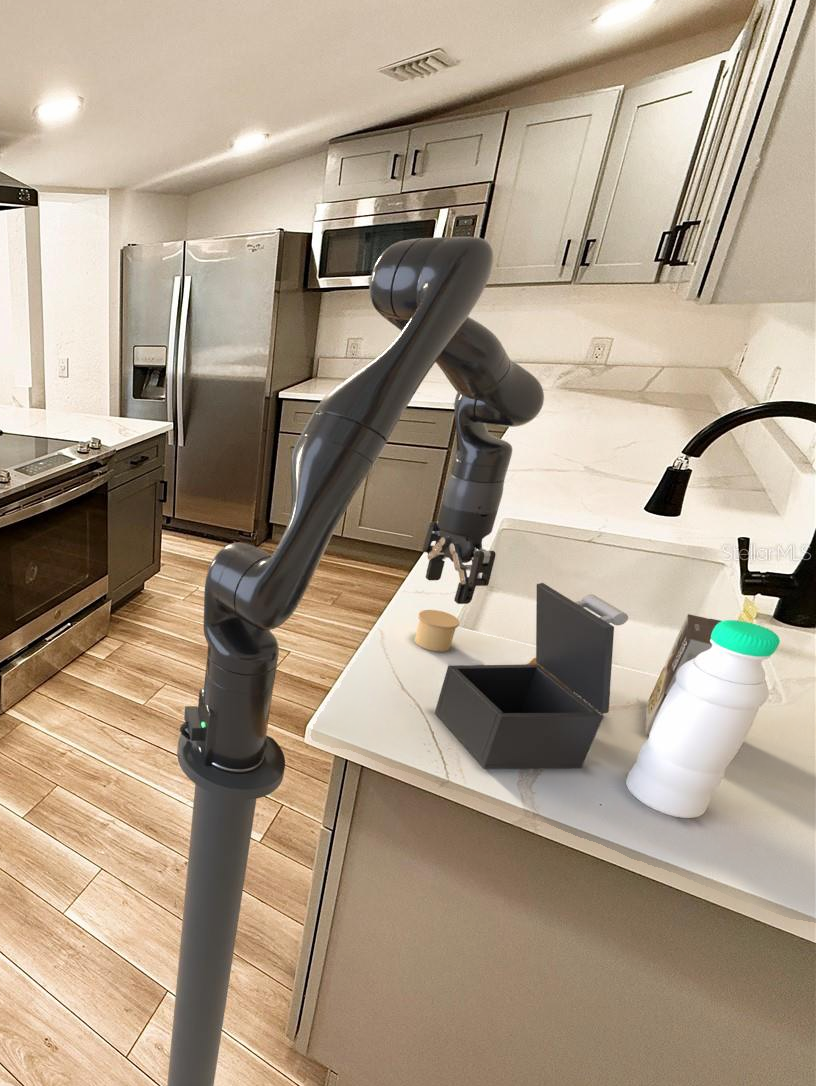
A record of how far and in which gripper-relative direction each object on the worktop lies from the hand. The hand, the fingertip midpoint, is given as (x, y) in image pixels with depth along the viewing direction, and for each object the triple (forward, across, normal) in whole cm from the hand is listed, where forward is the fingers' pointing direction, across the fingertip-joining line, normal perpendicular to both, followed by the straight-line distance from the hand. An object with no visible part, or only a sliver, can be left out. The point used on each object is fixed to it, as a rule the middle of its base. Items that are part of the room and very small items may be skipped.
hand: (446, 590), depth 106 cm
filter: (+11, 0, 0) cm, 11 cm away
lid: (-5, +25, 0) cm, 25 cm away
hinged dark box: (+11, +25, -4) cm, 28 cm away
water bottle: (+11, +36, +8) cm, 38 cm away
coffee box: (+11, +23, +21) cm, 33 cm away
